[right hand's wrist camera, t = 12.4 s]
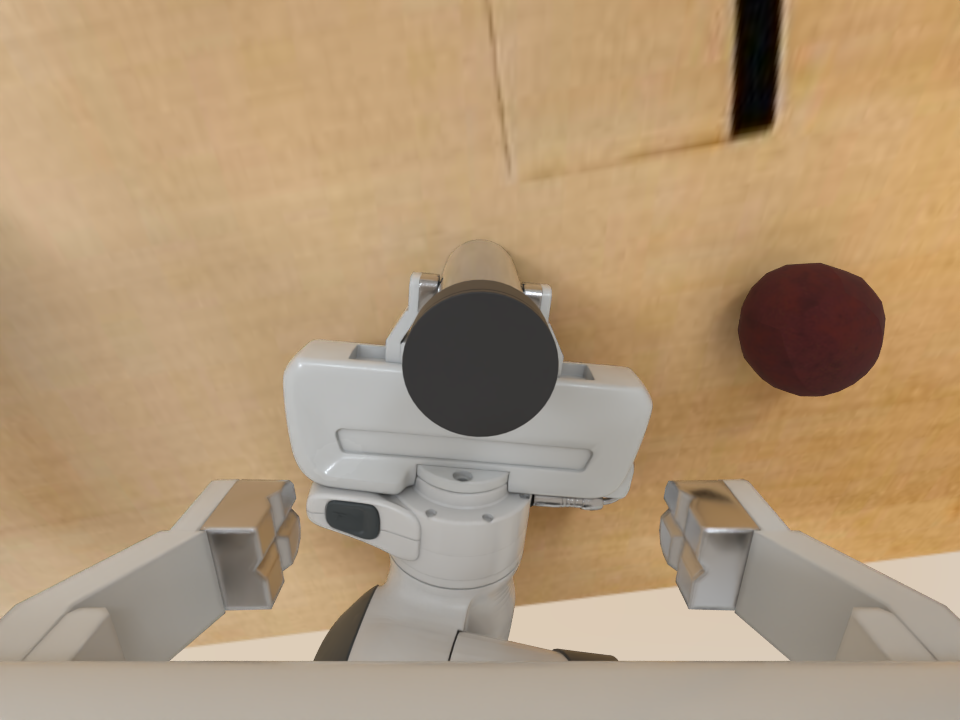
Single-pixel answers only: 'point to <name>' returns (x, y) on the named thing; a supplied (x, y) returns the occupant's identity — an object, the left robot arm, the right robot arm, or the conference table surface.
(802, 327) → the potato
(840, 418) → the conference table surface
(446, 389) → the lid
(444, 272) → the grey cylinder
